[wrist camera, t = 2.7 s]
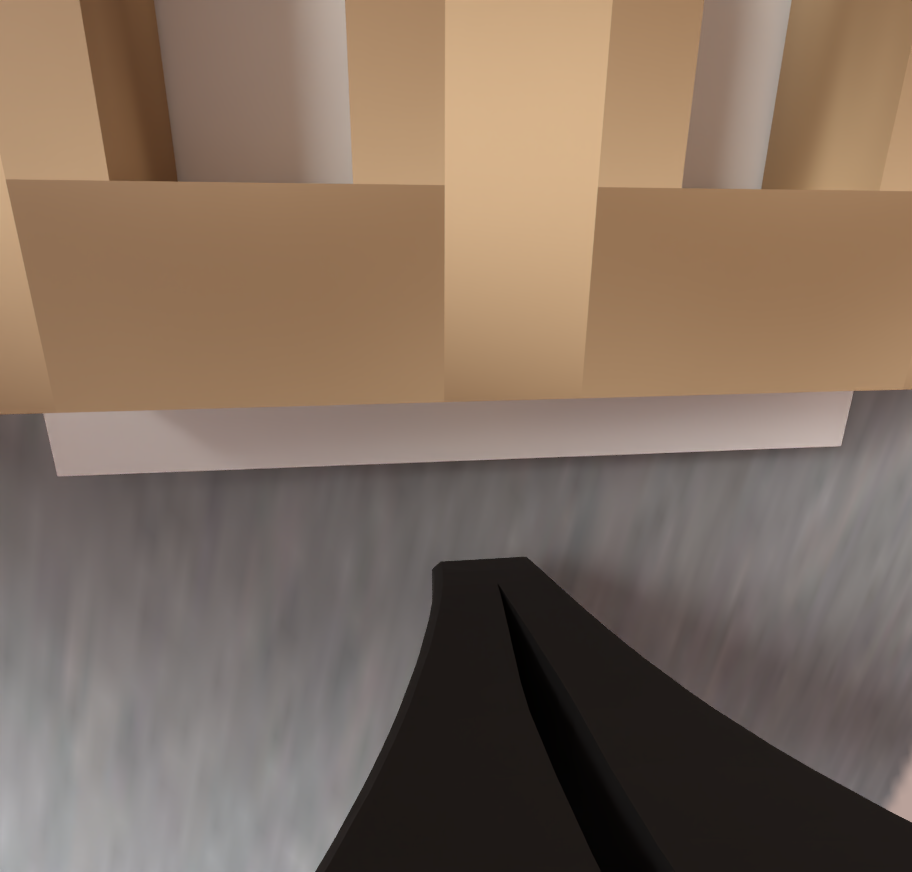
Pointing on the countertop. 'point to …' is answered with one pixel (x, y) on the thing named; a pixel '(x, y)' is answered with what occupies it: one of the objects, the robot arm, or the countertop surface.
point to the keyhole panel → (457, 218)
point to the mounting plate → (330, 162)
